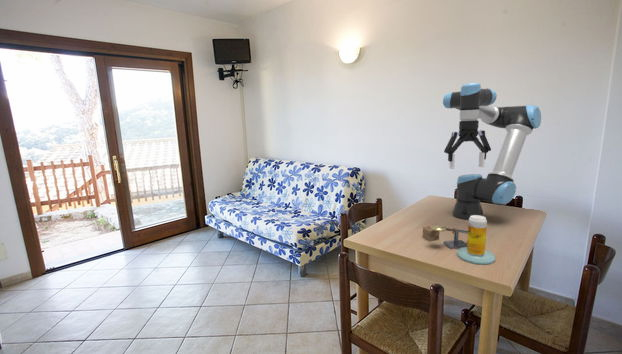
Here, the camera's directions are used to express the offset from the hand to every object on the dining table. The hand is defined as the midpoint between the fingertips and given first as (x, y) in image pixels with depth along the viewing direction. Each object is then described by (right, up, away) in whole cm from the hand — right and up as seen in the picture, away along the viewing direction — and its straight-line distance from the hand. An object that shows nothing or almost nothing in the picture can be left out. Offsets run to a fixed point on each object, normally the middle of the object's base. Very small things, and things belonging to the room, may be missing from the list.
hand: (466, 167), depth 132 cm
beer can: (-5, -35, -17) cm, 39 cm away
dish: (-5, -36, -17) cm, 40 cm away
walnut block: (-15, -33, +2) cm, 36 cm away
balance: (-8, -34, -6) cm, 35 cm away
